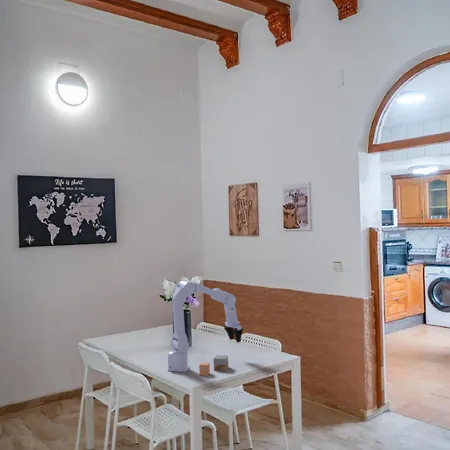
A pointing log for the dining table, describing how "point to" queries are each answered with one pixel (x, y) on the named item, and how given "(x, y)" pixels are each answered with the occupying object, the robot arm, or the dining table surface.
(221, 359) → the slate slab
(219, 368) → the walnut slab
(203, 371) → the tan clay cube
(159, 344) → the dining table surface
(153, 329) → the dining table surface
